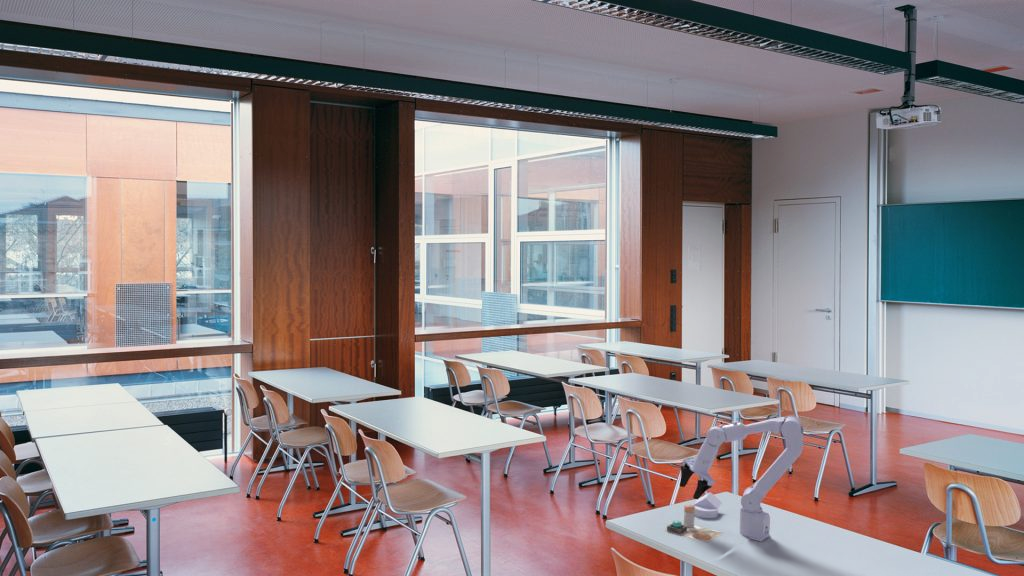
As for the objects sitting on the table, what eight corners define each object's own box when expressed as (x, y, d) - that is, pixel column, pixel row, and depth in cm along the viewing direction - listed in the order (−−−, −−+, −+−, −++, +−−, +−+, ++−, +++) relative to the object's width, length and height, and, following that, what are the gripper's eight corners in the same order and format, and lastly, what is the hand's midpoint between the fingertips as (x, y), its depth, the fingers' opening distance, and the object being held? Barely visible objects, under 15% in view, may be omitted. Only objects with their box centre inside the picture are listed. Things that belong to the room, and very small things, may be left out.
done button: (683, 527, 274) (683, 521, 274) (678, 529, 271) (679, 524, 271) (675, 525, 276) (675, 519, 276) (671, 527, 273) (671, 522, 273)
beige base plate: (727, 534, 273) (727, 528, 272) (709, 546, 262) (710, 539, 262) (679, 522, 284) (679, 516, 284) (660, 532, 273) (661, 526, 273)
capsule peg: (695, 526, 279) (696, 506, 278) (691, 528, 276) (692, 508, 275) (686, 523, 281) (687, 504, 281) (681, 526, 278) (682, 506, 278)
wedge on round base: (697, 507, 301) (689, 517, 290) (698, 490, 301) (690, 499, 289) (721, 511, 298) (714, 521, 286) (722, 493, 297) (715, 503, 286)
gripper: (683, 446, 281) (668, 480, 284) (710, 468, 269) (693, 503, 272) (697, 449, 285) (682, 481, 288) (724, 470, 273) (708, 504, 276)
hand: (688, 492), depth 280 cm, fingers open, 7 cm apart
